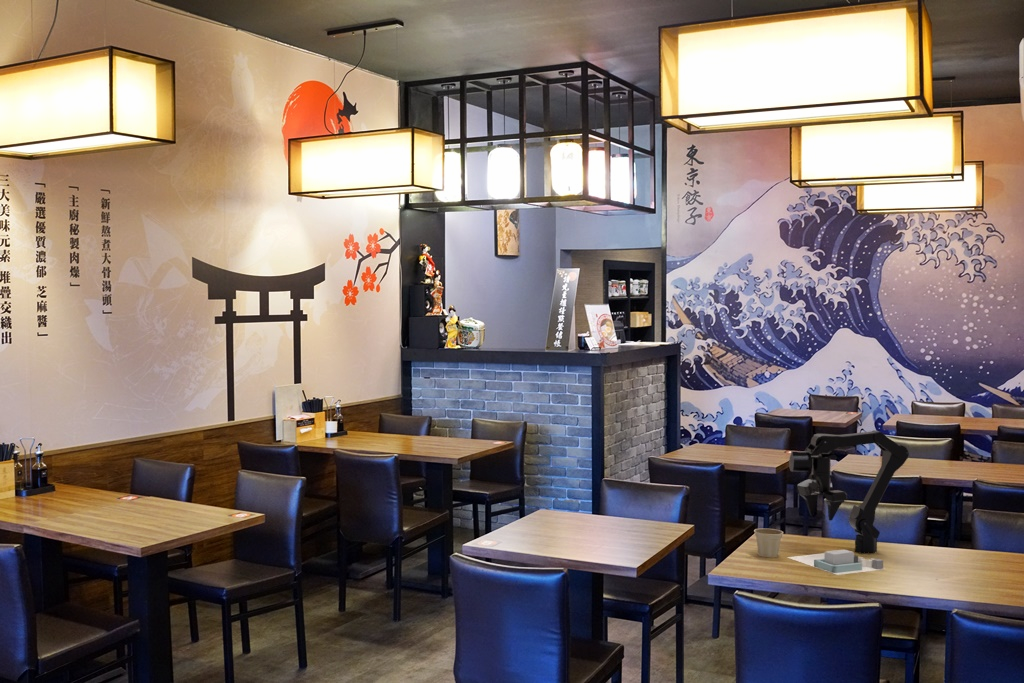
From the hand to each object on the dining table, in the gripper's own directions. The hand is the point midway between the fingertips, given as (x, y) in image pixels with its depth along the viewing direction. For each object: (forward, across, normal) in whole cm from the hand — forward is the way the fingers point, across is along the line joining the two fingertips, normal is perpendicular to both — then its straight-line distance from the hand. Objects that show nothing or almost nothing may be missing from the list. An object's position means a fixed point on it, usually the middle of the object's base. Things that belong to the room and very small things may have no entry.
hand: (821, 517), depth 313 cm
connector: (+11, +20, -9) cm, 25 cm away
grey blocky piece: (+11, +23, 0) cm, 25 cm away
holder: (+11, +20, -10) cm, 25 cm away
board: (+12, +15, -7) cm, 20 cm away
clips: (+11, +21, 0) cm, 24 cm away
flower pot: (+12, -2, -20) cm, 24 cm away
